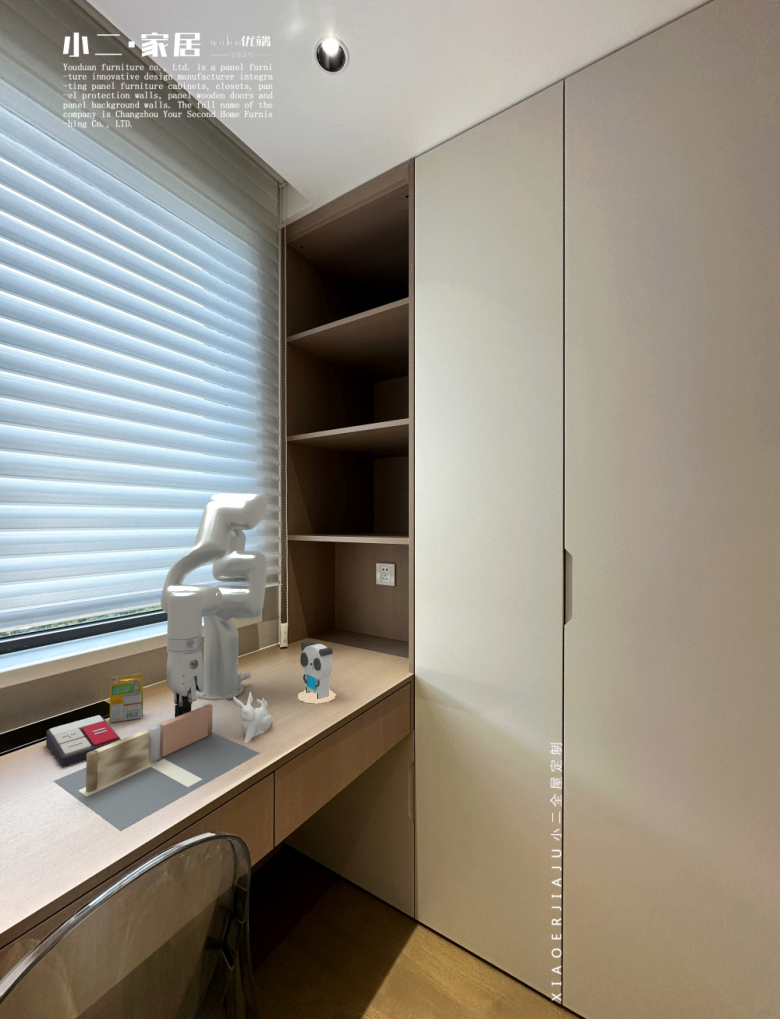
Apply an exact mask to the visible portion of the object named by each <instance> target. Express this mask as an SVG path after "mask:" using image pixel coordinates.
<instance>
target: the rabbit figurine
mask: <svg viewBox="0 0 780 1019" xmlns="http://www.w3.org/2000/svg"><path fill="white" fill-rule="evenodd" d="M232 699H233V702H234V704H235V706H237V707H239V708H240V709H241V714H240V718H241V719H240V722H239V724H240V727H241V729H242V730H243V731H244V732H245V738H244V743H249V742H251V741H252V739H253V738H254V737H256V736H258V735H261V734H264V733H265V732H267V731H268V730H269V729H270V727H271V725H272V722H273V718H272V715H271V714H269V712H268V709H267V707H268V701H266V700H265V698H264V697H263V698H262V699H259V698H257V699H256V702H257V703H260V706H259V707H255V708H254V707H253V706H252V703H253V700H254V698H253V695H252V692H251V691H249V694H248V698H247V703H246V704H244V703H243V702H242V701H241V700H240V699H238V698H237V697H235V696H233V698H232Z"/></svg>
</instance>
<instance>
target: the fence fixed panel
mask: <svg viewBox="0 0 780 1019" xmlns="http://www.w3.org/2000/svg"><path fill="white" fill-rule="evenodd" d="M120 739H121V740H118V741H116V742H113V743H111V744H108V745H106V746H103V747H101V748H98V749H96V750H94V751H90V752H88V753H87V760H86V761H85V762H86V763H85V764H86V767H85V768H86V792H92V791H94V790H96V789H98V788H100V787H102V786H104V785H107V784H109V783H111V782H113V781H115V780H117V779H120V778H122V777H124V776H126V775H128V774H130V773H132V772H135V771H137V770H139V769H141V768H143V767H145V766H147V765H148V758H149V732H148V730H145V729H143V730H141V731H139V732H137V733H134V734H131V735H129V736H127V737H124V738H120Z"/></svg>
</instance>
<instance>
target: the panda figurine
mask: <svg viewBox="0 0 780 1019" xmlns="http://www.w3.org/2000/svg"><path fill="white" fill-rule="evenodd" d="M300 649H301V651H302V652H301V654H300V659H299V662H300V664H301V667H302V670H303V673H304V674H303V676H302V678H303V681H304V683H305V689H306V693H310V692H313V693H316V694H317V699H321V698H325V697H328V696H329V689H330V687H329V686H330V685H329V684H330V676H331V674H332V672H333V656H332V655H333V652H334V651H333V648H332V647H327V646H326V645H324V644H322V643H315V641H314V640H309V641H308V640H307V641H303V642H301V644H300Z"/></svg>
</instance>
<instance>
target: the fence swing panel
mask: <svg viewBox="0 0 780 1019" xmlns="http://www.w3.org/2000/svg"><path fill="white" fill-rule="evenodd" d="M213 708H214V706H213V704H211V703H209V704H208V703H207V704H205V705H203V706H201V707H198V708H196V709H192V710H191V711H190V712H188V713H185V714H183V715H180V716H178V717H175V716H174V717H173V718H171V719H168V720H165V721H163V722H160V723H158V724H153V725H150V726H149V727H147V731H148V732H149V758H148V761H149V762H153V761H156V760H158V759H159V758H160V755H161V756H165V755H167V754H169V753H172V752H174V751H176V750H178V749H180V748H182V747H184V746H187V745H189V744H191V743H193V742H195V741H197V740H200V739H202V738H204V737H206V736H209V735H211V734H212V732H213V715H214V712H213V711H214V710H213Z"/></svg>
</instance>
